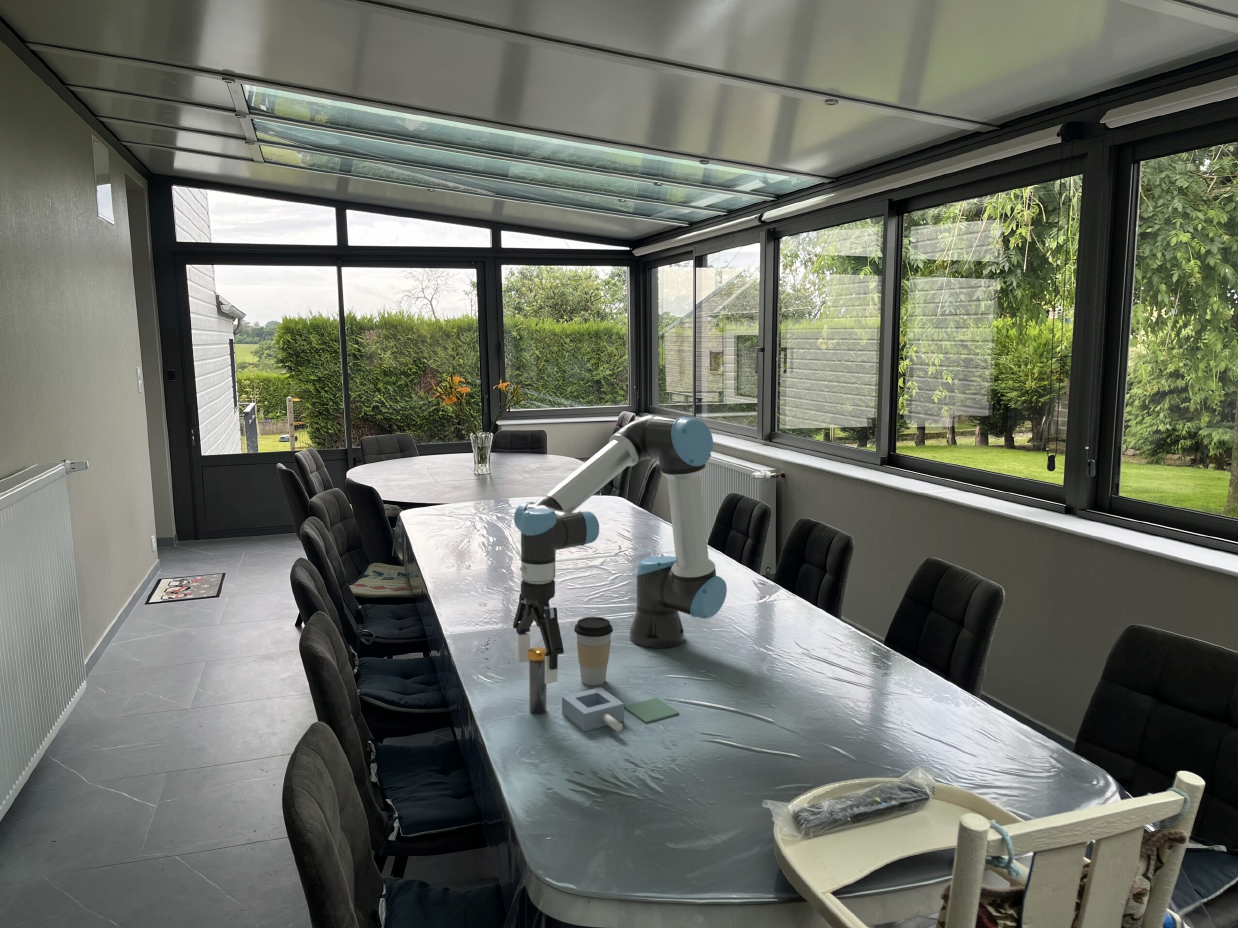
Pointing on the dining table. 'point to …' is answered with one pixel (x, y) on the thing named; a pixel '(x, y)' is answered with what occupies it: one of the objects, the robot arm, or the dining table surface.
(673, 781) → the dining table surface
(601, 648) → the coffee cup
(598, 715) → the block
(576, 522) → the robot arm
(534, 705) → the orange capped tube
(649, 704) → the pad
